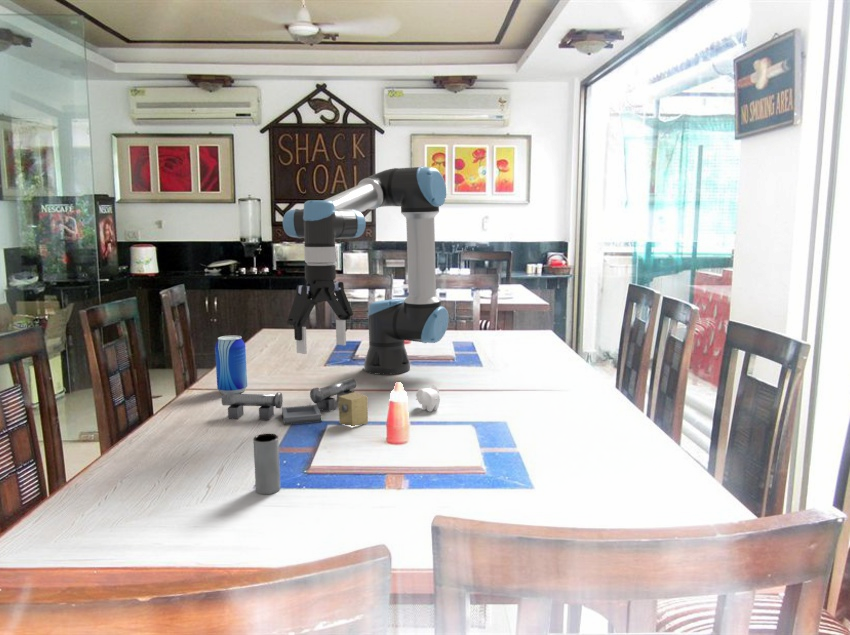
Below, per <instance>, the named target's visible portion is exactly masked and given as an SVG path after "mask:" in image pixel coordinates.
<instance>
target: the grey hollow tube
mask: <svg viewBox="0 0 850 635" xmlns="http://www.w3.org/2000/svg"><path fill="white" fill-rule="evenodd" d="M252 440H253V459H254V460H253V462H254V480H255V481H254V482H255V493H257V494H260V495H271V494H275V493H278V492H279V491H280V490H281V468H280V466H281V464H280V446H279V436H278V434H275V433H261V434H257V435H255V436H254V437H253V439H252Z"/></svg>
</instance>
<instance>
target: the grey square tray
mask: <svg viewBox="0 0 850 635" xmlns="http://www.w3.org/2000/svg"><path fill="white" fill-rule="evenodd" d="M281 414H282V420H283V425H284V426H290V425H301V424H311V422H313V423H321V422H322V414H321V410H320V409H319V408H318V406H317V404H307V405H297V406H287V407H286V406H285V407H283V406H282V407H281Z"/></svg>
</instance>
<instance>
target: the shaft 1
mask: <svg viewBox="0 0 850 635" xmlns="http://www.w3.org/2000/svg"><path fill="white" fill-rule="evenodd" d="M283 398H284V397H283V394H282V392H276V394H275V393H274V394H272V393H271V394H269V393H267V394H264V393H239V394H222V396H221V400H220V401H221V405H222V406H225V407H226V406H228V407H227V419H228V420H239V419H240V418H241V417H242V416H243V415H245V414H244V411H245V410H244V407H258V417H259V421H270V419H271V418H272V417H273V416H275V411H274V410H275V409H282V408H283V403H284V402H283V400H284V399H283ZM274 407H275V408H274Z"/></svg>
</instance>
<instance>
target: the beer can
mask: <svg viewBox="0 0 850 635" xmlns="http://www.w3.org/2000/svg"><path fill="white" fill-rule="evenodd" d="M214 351H215V352H214V354H215V369H216V370H215V372H216V388H217V390H218V391H219V393H220V394H222V395H223V394H243V393H244V392H245V391H246V389H247V387H248V374H247V371H248V370H247V353H246V343H245V342H244V340H243V339H242V336H241V335H234V334H233V335H223V336H219V337H217V341H216V343H215V345H214Z"/></svg>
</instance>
